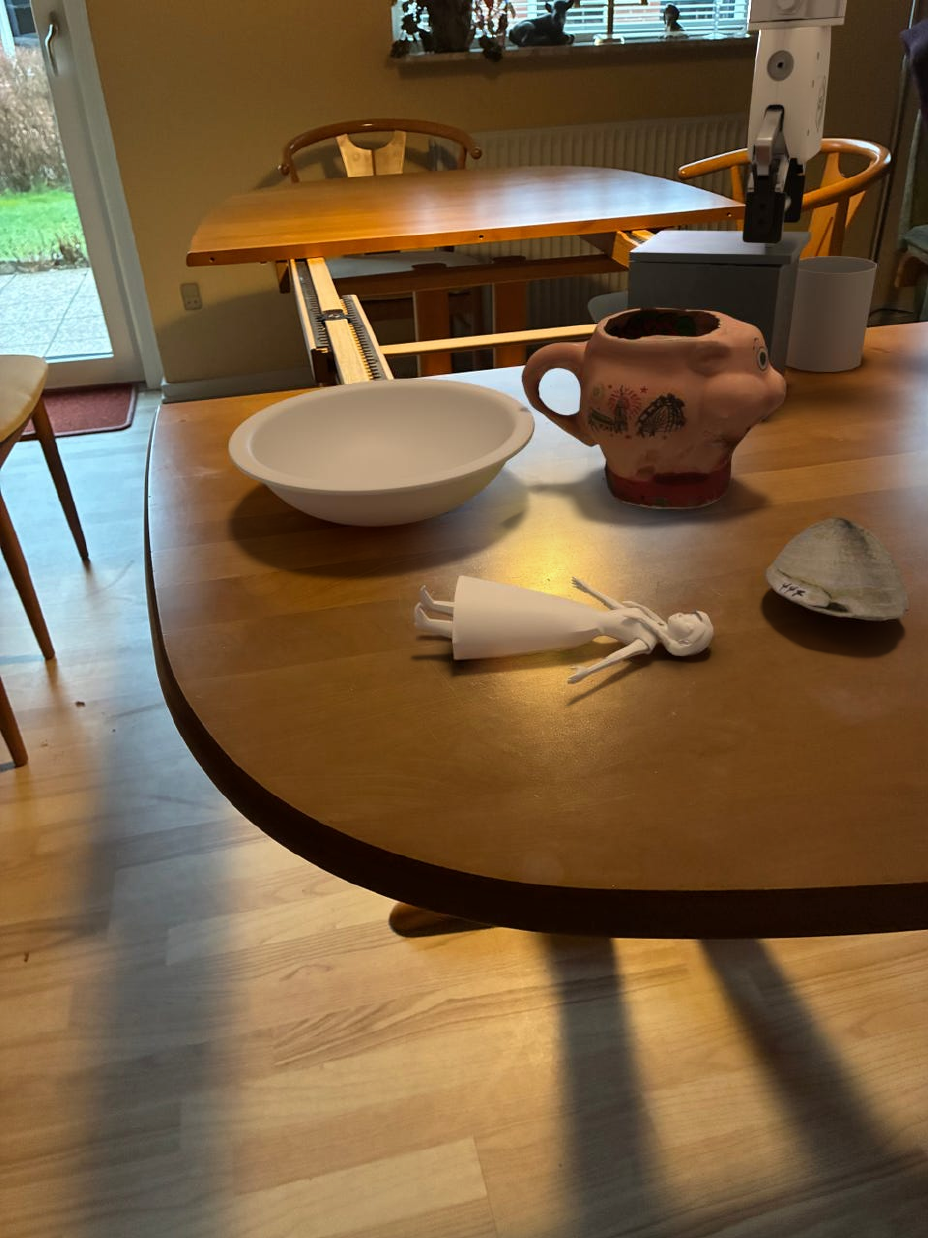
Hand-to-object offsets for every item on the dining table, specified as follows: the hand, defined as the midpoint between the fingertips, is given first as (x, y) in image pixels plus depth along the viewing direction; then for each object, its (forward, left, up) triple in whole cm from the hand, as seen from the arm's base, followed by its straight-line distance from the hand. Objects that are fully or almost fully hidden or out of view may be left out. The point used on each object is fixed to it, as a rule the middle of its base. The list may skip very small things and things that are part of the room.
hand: (772, 231), depth 86 cm
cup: (-4, -15, -16) cm, 22 cm away
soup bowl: (+23, +33, -16) cm, 43 cm away
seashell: (-12, +37, -16) cm, 42 cm away
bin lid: (+4, 0, -2) cm, 5 cm away
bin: (+5, 0, -16) cm, 17 cm away
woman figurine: (+2, +48, -16) cm, 51 cm away
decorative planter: (+4, +24, -16) cm, 29 cm away
